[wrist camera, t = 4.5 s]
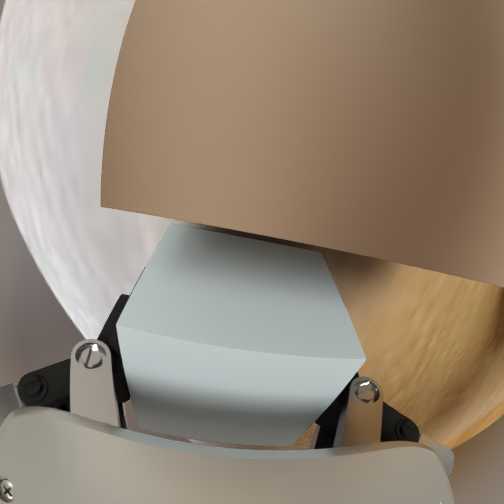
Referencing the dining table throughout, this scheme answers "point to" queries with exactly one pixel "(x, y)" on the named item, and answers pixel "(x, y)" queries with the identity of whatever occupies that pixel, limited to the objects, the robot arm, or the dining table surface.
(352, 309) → the dining table surface
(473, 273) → the walnut block
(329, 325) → the blue-grey block
